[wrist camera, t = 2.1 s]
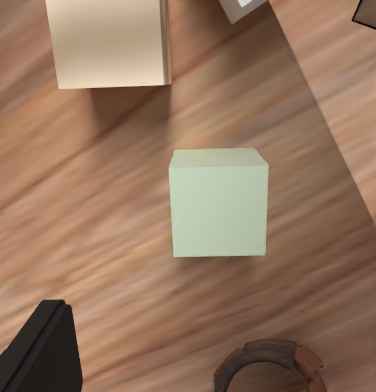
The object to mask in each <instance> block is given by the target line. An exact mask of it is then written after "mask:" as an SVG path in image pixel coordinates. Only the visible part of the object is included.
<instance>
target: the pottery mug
mask: <svg viewBox="0 0 376 392" xmlns="http://www.w3.org/2000/svg"><path fill="white" fill-rule="evenodd" d="M255 362H272V363H276V364H279V365H281V366H283V367H285V368H287V369H289V370H290V371H294V367H295V368H296V369H297V370H298V371H299V372H300V373H301V374H302V375H303V376H304V378H305V379H306V381H307V385H306V387H305V388H306V390H307V392H327V389H326V386H325V384H324V382H323V380H322V378H321V376H320V374H319V373H318V372H317V371H318V369H319V368H321V367H323V366H324V364H323V363H322V360H321V359H320V358H319V357H318V356H317V355H316V354H315V353H314V352H313V351H311V350H310V349H309V348H307V347H305V346H303V345H300V346H298V345H297V344H296V343H295V342H292V341H286V340H275V339H265V340H257V341H253V342H249V343H247V344H245V348H243V349H236V350H235V351H234V352H233V353H231V354H230V355H229V357H228V358H227V359H226V360H225V361H224V363H223V364H222V365H221V366H220V367H219V368H218V369H217V370H216V372H215V373H214V385H215V391H214V392H226V391H227V388H228V385H229V383H230V381H231V379H232V378H233V376H234V375H235V374H236V373H237V372H238V371H239V370H240V369H241V368H243V367H244V366H246V365H249V364H250V363H255Z"/></svg>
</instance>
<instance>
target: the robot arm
mask: <svg viewBox="0 0 376 392" xmlns="http://www.w3.org/2000/svg"><path fill="white" fill-rule="evenodd" d="M82 384H83V377H82V370H81V364H80V358H79V351H78V345H77V339H76V332H75V326H74V320H73V313H72V308H71V306H70V305H66V303H65V301H64V300H43V301H42V302H41V303H40V304H39V305H38V307H37V308H36V309H35V311H34V312H33V313H32V315H31V316H30V318H29V319H28V320H27V322H26V323H25V324H24V326H23V327H22V328H21V330H20V331H19V333H18V334H17V335H16V337H15V338H14V339H13V341H12V342H11V344H10V345H9V346H8V348H7V349H6V350H4V351H3V353H2V354H1V355H0V392H81V390H82Z"/></svg>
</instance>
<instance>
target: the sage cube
mask: <svg viewBox="0 0 376 392" xmlns="http://www.w3.org/2000/svg"><path fill="white" fill-rule="evenodd" d="M268 169H269V165H268V164H267V163H266V162H265V160H264V159H263V158H262V157H261V155H260V154H259V153H258V152H257V151H256V149H255V148H254V147H250V148H219V149H187V150H175V151H174V154H173V157H172V160H171V163H170V166H169V185H170V203H171V220H172V238H173V256H174V257H200V256H252V255H265V252H266V224H267V197H268Z"/></svg>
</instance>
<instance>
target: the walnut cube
mask: <svg viewBox="0 0 376 392" xmlns="http://www.w3.org/2000/svg"><path fill="white" fill-rule="evenodd" d="M351 21H353V22H356V23H358V24H361V25H364V26H367V27H369V28H372V29H375V30H376V0H360V2H359V4H358V6H357V9H356V11H355V13H354V16H353V18H352V20H351Z"/></svg>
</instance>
